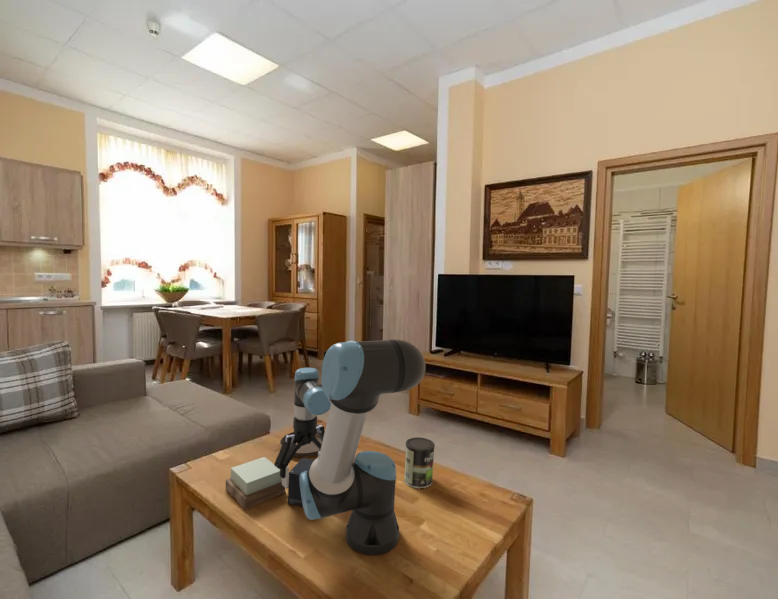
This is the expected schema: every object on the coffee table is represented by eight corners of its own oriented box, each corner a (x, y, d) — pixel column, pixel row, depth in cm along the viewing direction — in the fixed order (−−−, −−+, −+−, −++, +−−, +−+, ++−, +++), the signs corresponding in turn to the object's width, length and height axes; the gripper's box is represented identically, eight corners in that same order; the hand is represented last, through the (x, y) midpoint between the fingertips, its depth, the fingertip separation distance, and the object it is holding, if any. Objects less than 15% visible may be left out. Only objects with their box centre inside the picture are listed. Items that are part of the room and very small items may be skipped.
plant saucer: (315, 464, 149) (315, 456, 149) (269, 454, 156) (269, 446, 156) (338, 442, 169) (338, 434, 169) (296, 433, 175) (297, 426, 175)
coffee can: (437, 479, 142) (439, 442, 141) (423, 492, 133) (425, 452, 132) (413, 470, 148) (414, 434, 146) (398, 482, 139) (400, 444, 138)
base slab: (285, 493, 130) (285, 482, 130) (244, 511, 120) (244, 498, 120) (264, 476, 140) (264, 466, 139) (225, 491, 130) (225, 480, 129)
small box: (305, 507, 122) (306, 475, 121) (286, 504, 123) (287, 472, 123) (318, 489, 132) (319, 459, 132) (300, 486, 134) (301, 457, 133)
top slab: (281, 481, 130) (281, 470, 129) (246, 495, 121) (246, 483, 121) (264, 467, 138) (264, 456, 138) (230, 479, 130) (230, 467, 130)
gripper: (329, 404, 137) (327, 461, 139) (263, 422, 119) (262, 487, 122) (343, 410, 132) (340, 470, 134) (276, 430, 114) (274, 498, 116)
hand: (303, 478), depth 128 cm, fingers open, 13 cm apart
